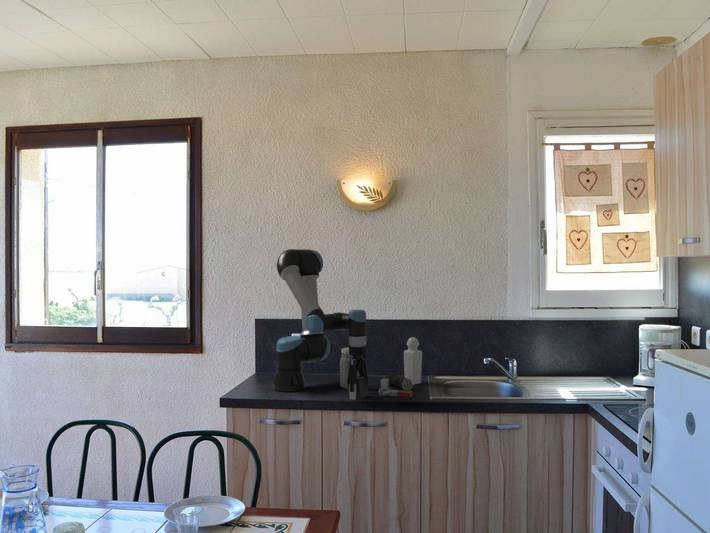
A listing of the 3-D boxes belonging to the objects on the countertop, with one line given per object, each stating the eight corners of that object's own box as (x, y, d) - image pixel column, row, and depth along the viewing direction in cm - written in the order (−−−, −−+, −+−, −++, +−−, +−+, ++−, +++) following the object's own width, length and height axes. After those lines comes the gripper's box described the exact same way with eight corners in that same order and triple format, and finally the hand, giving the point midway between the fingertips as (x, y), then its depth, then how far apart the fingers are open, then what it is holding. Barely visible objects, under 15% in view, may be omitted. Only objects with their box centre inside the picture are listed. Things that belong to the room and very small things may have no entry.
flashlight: (384, 384, 258) (384, 373, 258) (394, 383, 260) (394, 372, 260) (402, 391, 244) (402, 379, 244) (412, 389, 247) (412, 378, 247)
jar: (339, 389, 246) (339, 350, 246) (340, 385, 256) (340, 347, 256) (361, 389, 246) (361, 350, 246) (360, 385, 256) (360, 347, 256)
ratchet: (376, 395, 236) (376, 380, 236) (380, 392, 242) (380, 377, 242) (409, 398, 231) (409, 383, 231) (413, 395, 237) (413, 380, 237)
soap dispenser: (412, 380, 265) (412, 336, 265) (422, 383, 260) (422, 337, 260) (403, 382, 260) (403, 337, 260) (413, 385, 256) (413, 338, 255)
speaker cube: (347, 397, 232) (347, 378, 232) (352, 394, 238) (352, 375, 238) (362, 399, 229) (362, 379, 229) (367, 395, 236) (367, 376, 236)
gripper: (356, 350, 221) (356, 403, 221) (374, 342, 244) (374, 390, 244) (339, 349, 224) (339, 401, 224) (358, 341, 246) (358, 389, 246)
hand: (357, 396), depth 234 cm, fingers open, 11 cm apart
